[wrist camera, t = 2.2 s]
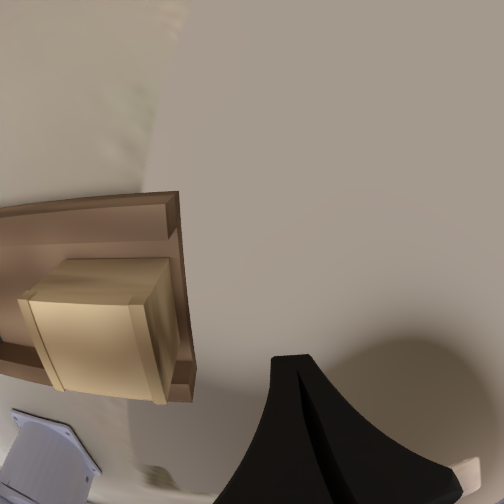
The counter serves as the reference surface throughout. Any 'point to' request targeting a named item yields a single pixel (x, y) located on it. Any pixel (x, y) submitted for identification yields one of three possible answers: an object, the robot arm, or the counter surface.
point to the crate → (106, 327)
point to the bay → (88, 247)
